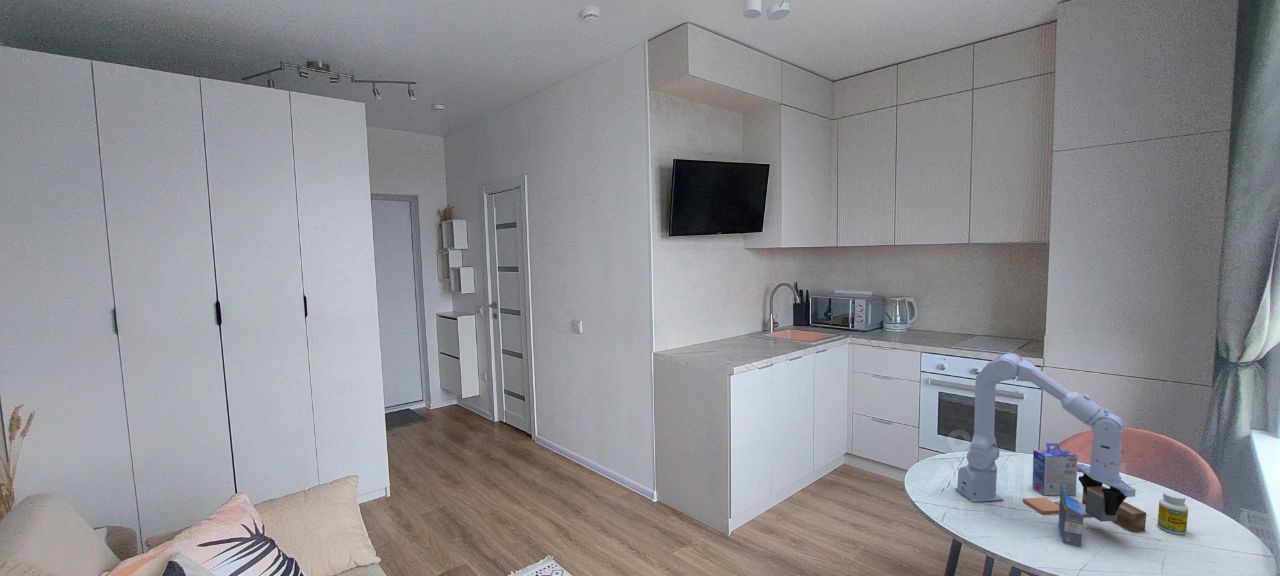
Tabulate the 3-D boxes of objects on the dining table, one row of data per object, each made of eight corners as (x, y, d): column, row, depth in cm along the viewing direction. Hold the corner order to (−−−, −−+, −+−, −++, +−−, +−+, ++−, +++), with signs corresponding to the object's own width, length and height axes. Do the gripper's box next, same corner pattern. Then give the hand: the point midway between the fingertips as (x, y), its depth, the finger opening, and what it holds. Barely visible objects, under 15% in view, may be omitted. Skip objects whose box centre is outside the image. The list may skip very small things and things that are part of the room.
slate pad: (1076, 517, 143) (1076, 514, 143) (1054, 504, 150) (1054, 501, 150) (1099, 516, 143) (1100, 513, 143) (1077, 503, 150) (1077, 500, 150)
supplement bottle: (1177, 525, 138) (1180, 491, 137) (1191, 536, 133) (1195, 501, 132) (1152, 522, 140) (1155, 488, 139) (1165, 533, 135) (1168, 498, 134)
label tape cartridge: (1082, 547, 130) (1085, 500, 128) (1062, 542, 132) (1065, 496, 131) (1075, 529, 137) (1078, 485, 136) (1057, 525, 139) (1059, 482, 138)
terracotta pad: (1042, 514, 145) (1042, 511, 145) (1022, 501, 152) (1022, 498, 152) (1066, 513, 145) (1066, 509, 145) (1045, 500, 152) (1045, 497, 152)
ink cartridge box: (1062, 486, 160) (1065, 441, 159) (1077, 495, 155) (1080, 449, 153) (1030, 487, 160) (1032, 441, 159) (1043, 495, 155) (1046, 449, 153)
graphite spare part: (1100, 521, 134) (1103, 495, 133) (1085, 512, 138) (1087, 486, 137) (1116, 520, 134) (1119, 494, 133) (1100, 511, 138) (1102, 486, 138)
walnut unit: (1130, 531, 136) (1132, 513, 135) (1081, 504, 150) (1083, 487, 149) (1146, 530, 136) (1147, 512, 136) (1096, 503, 150) (1097, 487, 150)
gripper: (1148, 471, 127) (1144, 524, 129) (1093, 447, 142) (1090, 495, 143) (1121, 473, 127) (1117, 525, 128) (1069, 448, 141) (1066, 496, 143)
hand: (1101, 509), depth 136 cm, fingers closed on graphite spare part, 4 cm apart
